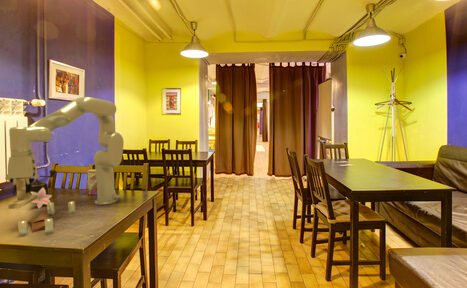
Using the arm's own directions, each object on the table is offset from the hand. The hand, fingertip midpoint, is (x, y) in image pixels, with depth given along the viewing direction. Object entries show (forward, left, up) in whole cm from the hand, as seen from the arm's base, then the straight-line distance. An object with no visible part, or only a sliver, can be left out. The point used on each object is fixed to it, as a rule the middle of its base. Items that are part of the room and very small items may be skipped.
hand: (23, 192), depth 124 cm
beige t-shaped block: (0, 0, -5) cm, 5 cm away
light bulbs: (-10, 0, -16) cm, 19 cm away
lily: (+7, -30, -16) cm, 35 cm away
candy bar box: (-18, -50, -16) cm, 56 cm away
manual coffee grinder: (+15, -50, -16) cm, 55 cm away
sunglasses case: (-7, +1, -17) cm, 18 cm away
